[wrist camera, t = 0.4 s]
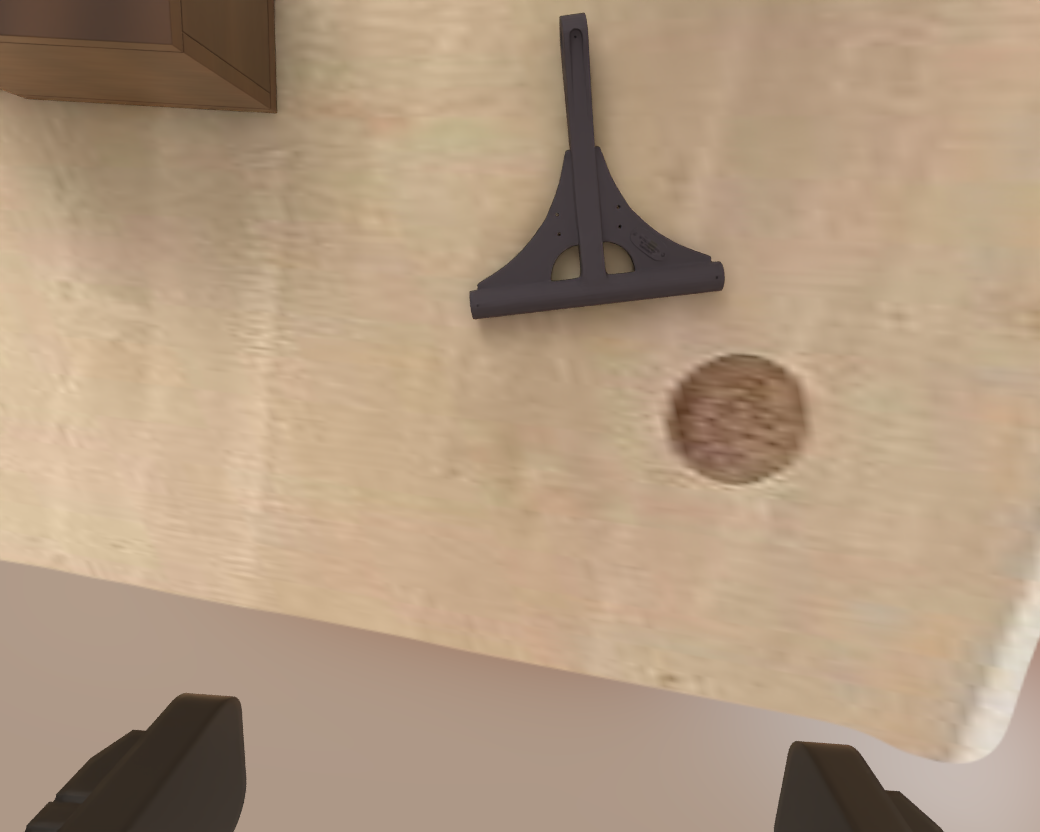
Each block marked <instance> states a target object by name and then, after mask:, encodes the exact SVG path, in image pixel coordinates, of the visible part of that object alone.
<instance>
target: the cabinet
mask: <svg viewBox="0 0 1040 832" xmlns="http://www.w3.org/2000/svg"><path fill="white" fill-rule="evenodd" d="M0 89H1V90H4V91H7V92H10V93H12V94H16V95H18V96H21V97H23V98H26V99H40V100H57V101H74V102H92V103H109V104H126V105H143V106H160V107H178V108H195V109H212V110H229V111H247V112H264V113H277V100H276V63H275V25H274V0H0Z"/></svg>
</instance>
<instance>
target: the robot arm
mask: <svg viewBox="0 0 1040 832" xmlns="http://www.w3.org/2000/svg"><path fill="white" fill-rule="evenodd" d="M245 792H246V768H245V753H244V737H243V723H242V709H241V704H240V701H239V699H237V698H236V697H232V696H219V695H206V694H193V693H192V694H191V693H183V694H181V695H179V696H178V697H176V698H175V699H174V700H173V701H172V702H171V703H170V704H169V705H168V707H167V708H166V709H165V710H164V711H163V712H162V713H161V714H160V716H159V717H158V718H157V719H156V720H155V721H154V723H152V725H151V726H150V727H149V728H148V729H147V730H146V731H141V730H132V731H131V732H129V733H128V734H126V735H125V736H123V737H122V738H120V739H119V740H117V741H116V742H114V743H113V744H111V745H110V746H108V747H107V748H105V749H104V750H102V751H101V752H99V753H98V754H96V755H95V756H93V757H92V758H90V759H89V760H88V762H87V763H86V764H85V765H84V766H83V767H82V768H81V769H80V770H79V771H78V772H77V773H76V774H75V775H74V776H73V777H72V778H71V779H70V781H69V782H68V783H67V784H66V785H65V786H64V787H63V788H62V789H61V790H60V791H59V792H58V793H57V794H56V798H55V800H54V801H53V802H49V803H48V804H47V805H46V806H45V807H44V808H43V809H42V810H41V811H40V812H39V813H38V814H37V815H36V816H35V817H34V819H32V820H31V822H30V823H29V824H28V825H27V827H26V830H25V832H233V831H234V830H235V827H236V825H237V823H238V820H239V817H240V814H241V811H242V807H243V803H244V798H245ZM774 832H943V830H942V829H941V828H940V827H939V826H938V825H937V824H936V823H935V822H933V821H932V820H931V819H930V818H929V817H928V816H927V815H926V814H924V813H923V812H922V811H921V810H920V809H919V808H918V807H917V806H915V805H914V804H913V803H912V802H911V801H910V800H909V799H908V798H906V797H905V796H904V795H903V794H902V793H901V792H900V791H887V790H884V788H883V787H882V785H881V784H880V782H879V781H878V779H877V778H876V776H875V775H874V773H873V772H872V770H871V769H870V767H869V766H868V765H867V763H866V761H865V760H864V758H863V757H862V756H861V754H860V753H859V752H858V751H857V750H856V749H855V748H854V747H852V746H850V745H842V744H829V743H828V744H827V743H816V742H802V741H795V742H794V743H792V745H791V746H790V749H789V752H788V756H787V762H786V767H785V772H784V778H783V783H782V788H781V793H780V798H779V804H778V809H777V814H776V820H775V825H774Z"/></svg>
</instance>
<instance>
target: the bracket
mask: <svg viewBox="0 0 1040 832" xmlns="http://www.w3.org/2000/svg"><path fill="white" fill-rule="evenodd" d="M559 24H560V46H561V58H562V69H563V80H564V91H565V102H566V113H567V124H568V135H569V146H570V150H567V151H566V152H565V157H564V162H563V167H562V172H561V177H560V182H559V185H558V188H557V192H556V195H555V197H554V200H553V202H552V205H551V207H550V210H549V212H548V215H547V217H546V219H545V221H544V222H543V224H542V225H541V226H540V228H539V229H538V231H537V232H536V234H535V235H534V237H533V238H532V239H531V240H530V242H529V243H528V244H527V245H526V246H525V248H524V249H523V250H522V251H521V252H520V253H519V254H518V255H517V256H516V257H515V258H514V259H512V260H511V261H510V262H509V263H508V264H507V265H505V266H504V267H503V268H501V269H500V270H499V271H497V272H496V273H494V274H493V275H491V276H489V277H488V278H486V279H485V280H483V281H482V282H480V283H479V284H478V285H477V286H478V289H477V290H474V291H470V307H471V313H472V317H473V319H481V318H489V317H498V316H506V315H515V314H524V313H532V312H541V311H549V310H558V309H567V308H575V307H584V306H592V305H601V304H610V303H618V302H627V301H635V300H644V299H653V298H661V297H670V296H679V295H687V294H696V293H704V292H713V291H721V290H722V289H723V286H724V279H725V276H724V269H723V265H722V263H721V262H711V257H710V256H708V255H706V254H703V253H700V252H697V251H694V250H691V249H689V248H686V247H684V246H681V245H679V244H677V243H675V242H673V241H671V240H670V239H668V238H666V237H665V236H663V235H661V234H660V233H658V232H657V231H656V230H654V229H653V228H652V227H650V226H649V225H648V224H647V223H646V222H644V221H643V220H642V219H641V218H640V217H639V216H638V215H637V214H636V213H635V212H634V211H633V210H632V209H631V208H630V207H629V205H628V204H627V202H626V201H625V199H624V198H623V196H622V195H621V193H620V191H619V190H618V188H617V187H616V185H615V183H614V181H613V179H612V177H611V175H610V173H609V170H608V168H607V165H606V162H605V160H604V157H603V154H602V152H601V149H600V147H599V146H596V147H595V142H594V128H593V113H592V96H591V78H590V61H589V40H588V27H587V19H586V15H585V13H579V14H572V15H565V16H560V23H559ZM617 206H619V209H617ZM556 213H558V214H559V216H556ZM619 225H620V226H621V228H618V226H619ZM558 233H560V234H561V235H560V236H558V235H557V234H558ZM603 242H612V243H615V244H617V245H619V246H621V247H622V248H624V249H625V250H626V251H627V252H628V254H629V255H630V257H631V259H632V261H633V264H634V267H635V271H634V272H628V273H619V274H607V273H606V270H605V262H604V252H603ZM575 245H578V246H579V257H580V277H578V278H575V279H568V280H560V281H551V273H552V268H553V265H554V263H555V261H556V259H557V258H558V256H559V255H560V254H561V253H562V252H563V251H564V250H566V249H567V248H569V247H571V246H575Z"/></svg>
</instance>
